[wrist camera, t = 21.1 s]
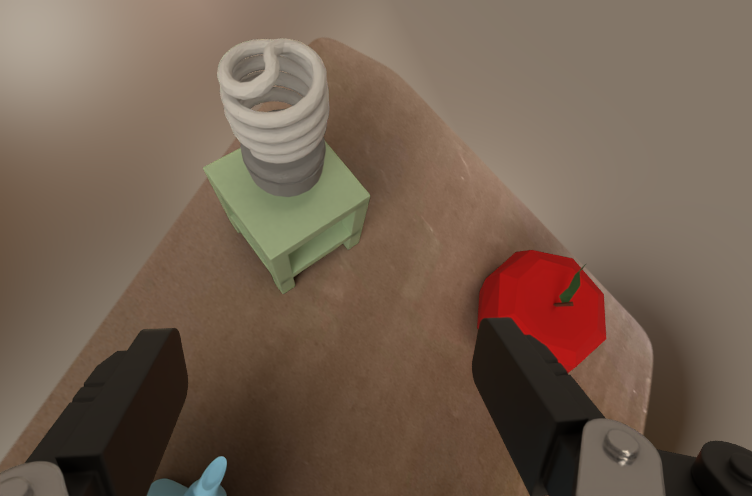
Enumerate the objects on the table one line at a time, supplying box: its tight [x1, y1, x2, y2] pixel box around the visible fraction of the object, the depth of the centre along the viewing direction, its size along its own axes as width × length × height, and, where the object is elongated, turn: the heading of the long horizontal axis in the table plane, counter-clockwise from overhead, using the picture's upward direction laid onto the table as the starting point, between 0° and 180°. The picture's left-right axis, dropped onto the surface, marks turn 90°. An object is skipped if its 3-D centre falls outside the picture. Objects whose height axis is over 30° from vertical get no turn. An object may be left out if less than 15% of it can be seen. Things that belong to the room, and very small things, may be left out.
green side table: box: [203, 142, 370, 294], centre depth 34 cm, size 9×9×10 cm
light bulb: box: [217, 38, 329, 197], centre depth 24 cm, size 6×6×12 cm
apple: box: [477, 250, 606, 372], centre depth 34 cm, size 11×11×10 cm
